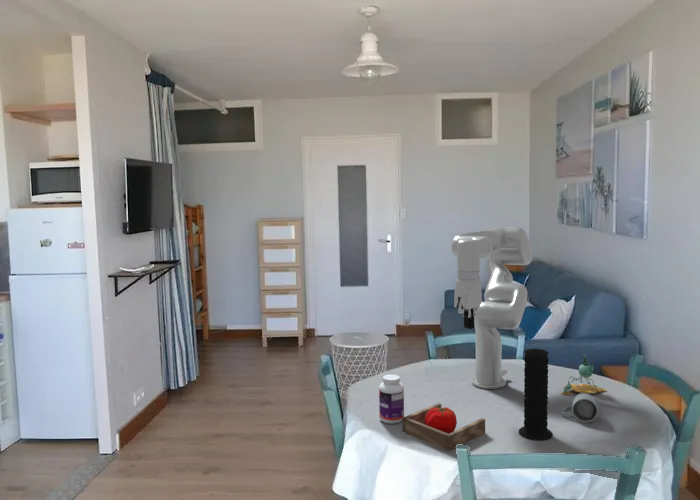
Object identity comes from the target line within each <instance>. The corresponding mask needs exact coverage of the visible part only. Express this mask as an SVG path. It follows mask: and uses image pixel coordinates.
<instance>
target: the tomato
mask: <svg viewBox="0 0 700 500" xmlns="http://www.w3.org/2000/svg"><path fill="white" fill-rule="evenodd" d="M457 423H458V421H457V416H456V413H455V412H454V411H453V410H452V409H451V408H449V407H446V406H444V407H441V408H439V407H438V408H433V409H431V410H430V411H429V412H428V413H427V415H426V417H425V425H427V426H430V427H432V428H435V429H437V430H440V431H442V432H445V433H448V434H449V433H451V432H453V431H456V429H457Z"/></svg>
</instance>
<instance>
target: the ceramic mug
mask: <svg viewBox="0 0 700 500" xmlns="http://www.w3.org/2000/svg"><path fill="white" fill-rule="evenodd" d="M561 414H562V417H564V418H570V417H574V418H575V419H576V420H577V421H578V422H581V423H585V424H586V423H591V422H593V421H595V420H596V419H597V417H598V414H599V408H598V404H597V401H596V399H595V398H594V397H593V396H592V395H591V394H588V393H578V394H577V395H576V396H575V397H574V398H573V400H572V405H570V406H566V407H564V408H563V409H562V410H561Z"/></svg>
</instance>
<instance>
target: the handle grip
mask: <svg viewBox="0 0 700 500" xmlns="http://www.w3.org/2000/svg"><path fill="white" fill-rule="evenodd" d="M548 355H549V351H548V350H546V349H545V350H544V349H541V348H527V349H525V350H524V358H523V359H524V365H523V366H524V369H523V372H524V379H523V380H524V381H523V382H524V383H523V386H524V390H523V393H524V395H523V397H524V399H523V403H524V404H523V405H524V406H523V407H524V408H523V413H524V414H523V417H524V419H523V426H521V427H520V428H519V429H518V432H517V433H518V435H520V436H521V438H523V439H524V438H525V439H526V440H530V441H536V442H537V441H539V442H541V441H548V440H551V439H552V438H553V436H554V435H553V432H552V431H551V430H550V429H549V428H548V414H549V411H548V409H549V407H548V403H549V401H548V399H549V396H548V394H549V390H548V389H549V386H548V384H549V376H548V375H549V357H548Z"/></svg>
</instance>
